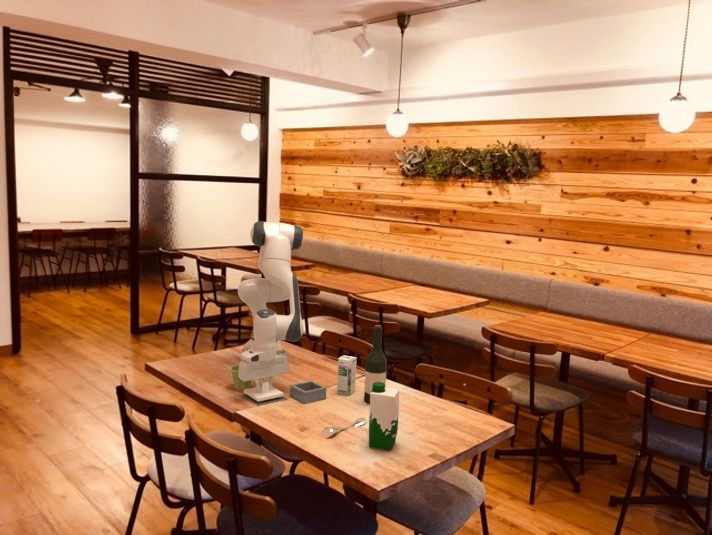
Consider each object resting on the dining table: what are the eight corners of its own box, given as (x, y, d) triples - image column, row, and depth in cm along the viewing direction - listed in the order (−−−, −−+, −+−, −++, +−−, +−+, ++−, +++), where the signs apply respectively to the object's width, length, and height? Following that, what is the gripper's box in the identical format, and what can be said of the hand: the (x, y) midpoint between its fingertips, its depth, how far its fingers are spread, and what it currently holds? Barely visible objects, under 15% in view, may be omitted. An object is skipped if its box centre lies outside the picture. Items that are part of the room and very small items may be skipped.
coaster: (240, 396, 231) (240, 395, 231) (270, 390, 239) (270, 389, 239) (257, 407, 221) (257, 405, 221) (287, 400, 229) (287, 399, 229)
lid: (243, 392, 231) (244, 379, 230) (268, 387, 238) (269, 374, 237) (258, 401, 223) (258, 388, 222) (283, 396, 229) (284, 382, 229)
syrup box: (336, 393, 239) (337, 358, 237) (342, 389, 245) (344, 354, 243) (349, 396, 237) (350, 360, 235) (355, 391, 242) (357, 356, 240)
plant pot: (246, 394, 234) (247, 373, 232) (225, 391, 237) (225, 369, 235) (258, 387, 242) (258, 366, 241) (237, 384, 245) (237, 363, 244)
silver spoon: (359, 410, 213) (369, 414, 210) (359, 419, 213) (369, 423, 210) (318, 428, 198) (328, 433, 195) (318, 438, 199) (328, 443, 196)
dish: (289, 397, 233) (290, 385, 232) (311, 392, 239) (311, 380, 238) (304, 405, 225) (304, 392, 224) (326, 400, 231) (326, 387, 230)
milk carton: (372, 437, 199) (375, 379, 196) (398, 441, 197) (402, 382, 194) (365, 448, 191) (368, 387, 188) (393, 452, 188) (396, 391, 186)
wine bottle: (370, 396, 238) (373, 322, 234) (388, 400, 233) (392, 325, 229) (359, 402, 231) (363, 325, 226) (378, 407, 226) (382, 329, 222)
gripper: (283, 347, 237) (282, 380, 239) (236, 354, 224) (236, 390, 226) (292, 351, 232) (291, 385, 234) (244, 359, 219) (244, 395, 221)
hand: (263, 387), depth 230 cm, fingers closed on lid, 3 cm apart
